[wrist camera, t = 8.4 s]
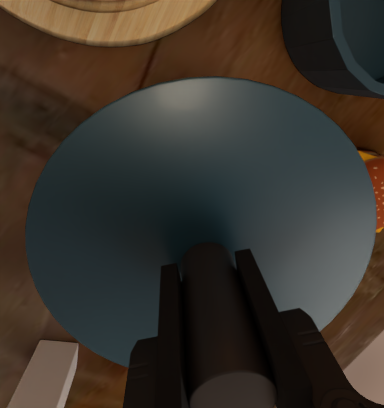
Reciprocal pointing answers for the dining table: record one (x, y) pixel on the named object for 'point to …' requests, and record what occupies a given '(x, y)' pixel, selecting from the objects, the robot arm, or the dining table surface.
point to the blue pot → (337, 43)
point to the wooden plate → (107, 19)
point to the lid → (200, 224)
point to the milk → (47, 376)
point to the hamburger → (376, 182)
